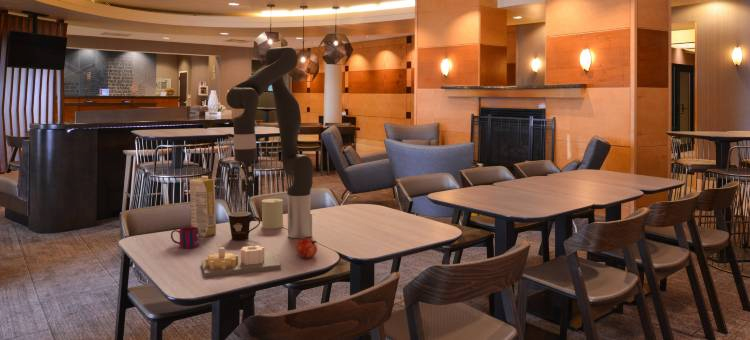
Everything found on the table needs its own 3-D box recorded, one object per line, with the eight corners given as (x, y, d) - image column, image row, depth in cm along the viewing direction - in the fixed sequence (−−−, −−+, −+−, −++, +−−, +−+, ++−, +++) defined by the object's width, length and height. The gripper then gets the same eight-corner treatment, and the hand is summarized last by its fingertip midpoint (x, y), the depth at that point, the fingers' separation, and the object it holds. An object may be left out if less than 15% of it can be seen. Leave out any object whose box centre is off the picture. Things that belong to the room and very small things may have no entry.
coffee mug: (224, 240, 218) (223, 215, 217) (237, 235, 226) (237, 211, 225) (249, 243, 214) (248, 217, 213) (261, 237, 222) (261, 213, 220)
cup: (195, 249, 206) (194, 231, 205) (168, 248, 206) (167, 230, 205) (201, 244, 212) (200, 226, 211) (175, 243, 213) (175, 226, 212)
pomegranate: (293, 265, 193) (312, 252, 189) (285, 247, 196) (303, 233, 191) (307, 262, 200) (326, 249, 195) (299, 245, 202) (317, 231, 197)
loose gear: (262, 257, 190) (262, 244, 189) (265, 262, 184) (265, 249, 184) (239, 260, 187) (239, 247, 187) (242, 265, 182) (242, 251, 181)
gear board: (272, 257, 195) (272, 238, 194) (280, 269, 183) (280, 248, 182) (201, 264, 187) (200, 244, 186) (205, 277, 174) (204, 255, 173)
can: (273, 230, 235) (272, 202, 233) (257, 227, 240) (256, 199, 238) (287, 225, 242) (287, 198, 241) (272, 223, 247) (271, 196, 246)
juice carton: (219, 233, 228) (217, 176, 224) (204, 238, 221) (201, 178, 218) (203, 230, 233) (201, 174, 229) (188, 234, 226) (186, 176, 223)
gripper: (260, 148, 184) (262, 196, 187) (252, 144, 197) (254, 188, 200) (237, 149, 181) (240, 198, 184) (230, 145, 194) (233, 190, 197)
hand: (247, 193), depth 192 cm, fingers open, 8 cm apart
